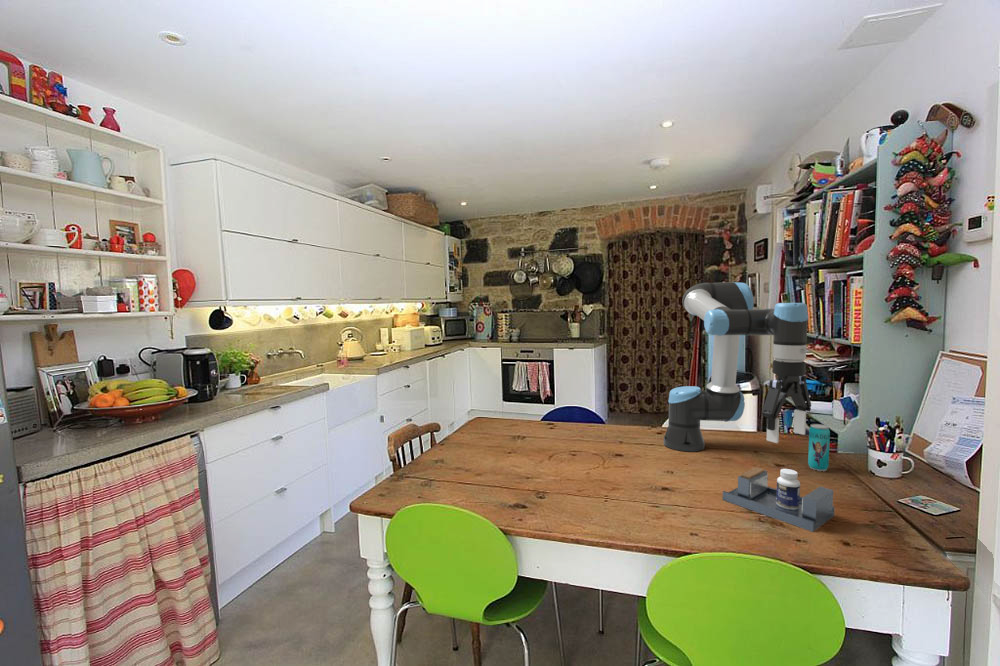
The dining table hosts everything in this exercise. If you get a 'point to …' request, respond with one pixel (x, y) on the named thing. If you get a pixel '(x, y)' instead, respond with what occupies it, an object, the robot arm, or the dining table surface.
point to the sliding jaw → (752, 483)
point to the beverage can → (819, 447)
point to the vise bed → (807, 516)
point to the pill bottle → (788, 490)
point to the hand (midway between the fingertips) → (786, 437)
